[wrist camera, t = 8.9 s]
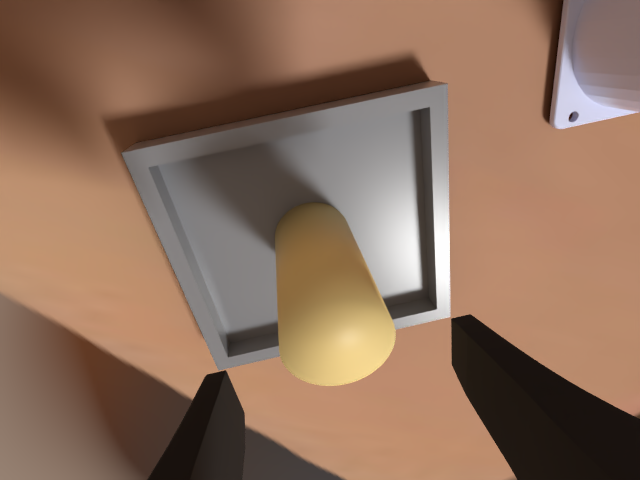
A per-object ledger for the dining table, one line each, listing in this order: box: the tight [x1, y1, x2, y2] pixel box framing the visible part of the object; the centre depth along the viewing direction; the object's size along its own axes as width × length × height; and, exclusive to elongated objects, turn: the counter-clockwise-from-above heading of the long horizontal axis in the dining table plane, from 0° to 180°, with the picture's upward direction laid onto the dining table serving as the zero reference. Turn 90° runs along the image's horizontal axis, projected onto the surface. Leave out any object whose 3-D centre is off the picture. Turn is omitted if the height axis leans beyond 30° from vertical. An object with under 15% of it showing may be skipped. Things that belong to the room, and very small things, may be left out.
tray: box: [121, 81, 450, 370], centre depth 19 cm, size 14×13×2 cm
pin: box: [275, 202, 396, 386], centre depth 16 cm, size 4×4×8 cm
